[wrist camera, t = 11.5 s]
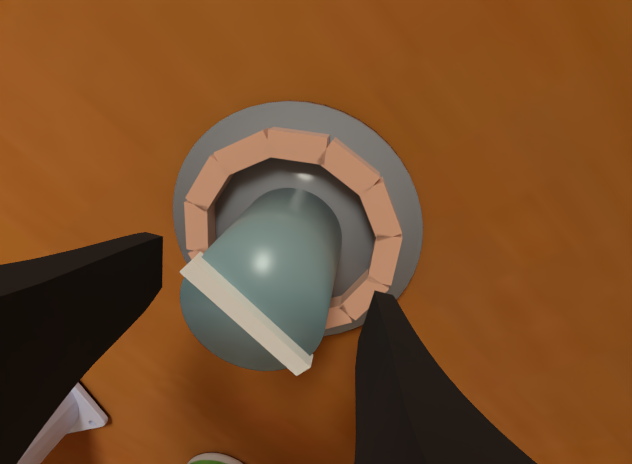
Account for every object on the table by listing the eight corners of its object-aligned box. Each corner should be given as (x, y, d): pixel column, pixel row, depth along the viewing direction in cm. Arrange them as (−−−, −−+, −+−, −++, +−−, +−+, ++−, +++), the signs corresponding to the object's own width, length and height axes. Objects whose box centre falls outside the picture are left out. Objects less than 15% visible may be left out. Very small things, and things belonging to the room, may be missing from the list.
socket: (248, 346, 19) (238, 367, 18) (137, 161, 16) (113, 170, 14) (451, 295, 16) (458, 316, 14) (368, 49, 12) (367, 45, 11)
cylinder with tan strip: (365, 243, 15) (359, 336, 9) (293, 297, 16) (255, 401, 11) (288, 163, 14) (235, 216, 8) (222, 229, 15) (143, 307, 10)
